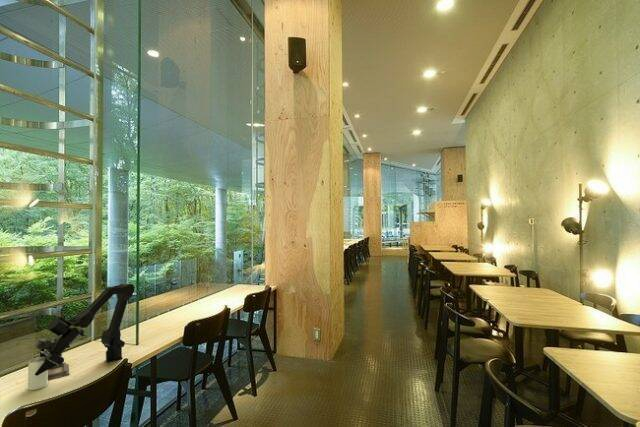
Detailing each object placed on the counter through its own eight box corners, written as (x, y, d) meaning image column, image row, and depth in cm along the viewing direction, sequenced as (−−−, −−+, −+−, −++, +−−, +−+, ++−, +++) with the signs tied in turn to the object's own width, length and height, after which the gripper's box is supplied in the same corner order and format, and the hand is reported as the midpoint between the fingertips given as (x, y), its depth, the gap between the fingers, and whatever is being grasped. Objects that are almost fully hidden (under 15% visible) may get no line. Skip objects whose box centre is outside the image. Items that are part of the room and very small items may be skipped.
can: (45, 381, 147) (45, 355, 147) (49, 386, 143) (49, 358, 143) (26, 387, 142) (26, 360, 142) (29, 392, 138) (29, 364, 138)
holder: (68, 364, 164) (68, 361, 164) (69, 374, 153) (69, 370, 153) (31, 373, 155) (31, 369, 155) (29, 384, 144) (29, 380, 144)
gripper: (44, 327, 152) (12, 358, 143) (55, 335, 140) (20, 370, 131) (65, 339, 158) (35, 370, 149) (77, 348, 146) (45, 382, 137)
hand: (33, 373), depth 141 cm, fingers closed on can, 6 cm apart
